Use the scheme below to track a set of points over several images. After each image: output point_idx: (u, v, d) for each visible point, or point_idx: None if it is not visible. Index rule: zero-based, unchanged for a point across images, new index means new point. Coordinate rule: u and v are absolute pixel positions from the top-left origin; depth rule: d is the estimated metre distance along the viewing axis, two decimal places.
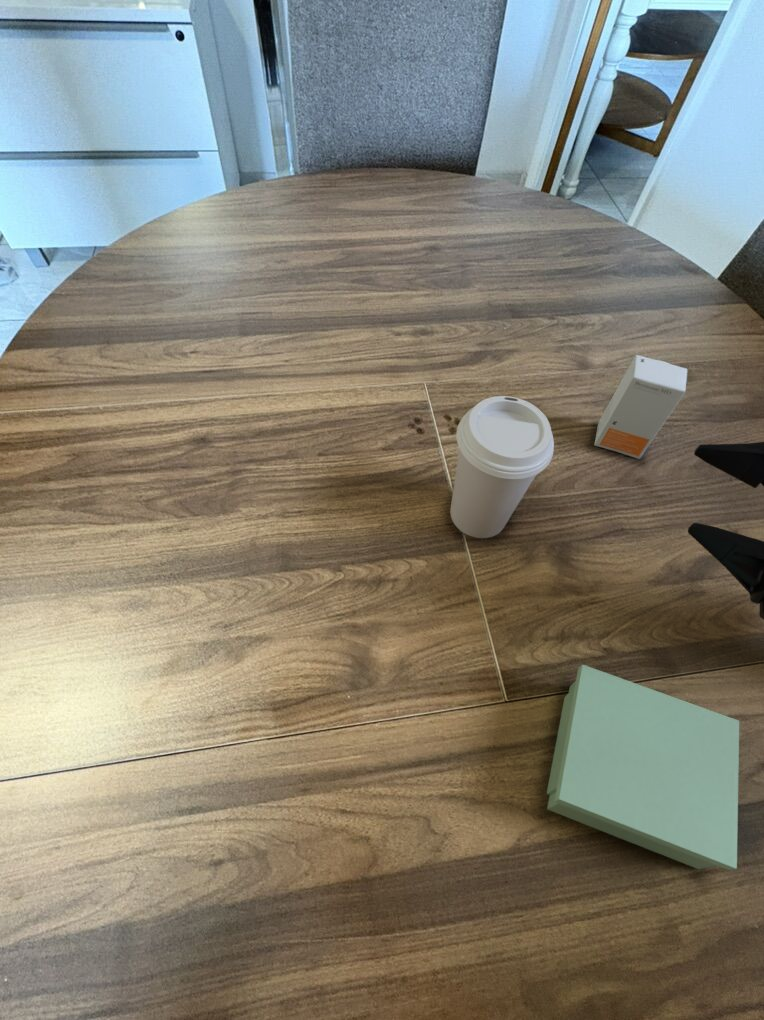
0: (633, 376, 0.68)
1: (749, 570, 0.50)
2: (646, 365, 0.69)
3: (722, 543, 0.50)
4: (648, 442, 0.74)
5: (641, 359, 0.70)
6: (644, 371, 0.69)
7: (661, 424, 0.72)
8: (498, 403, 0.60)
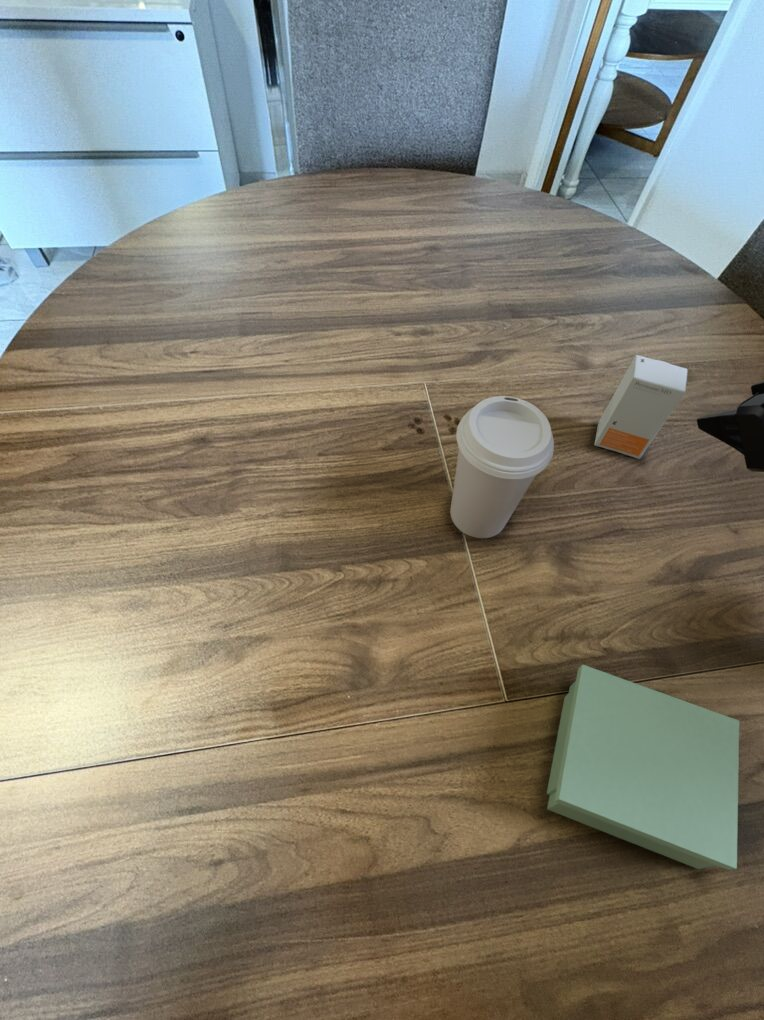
0: (633, 376, 0.68)
1: None
2: (646, 365, 0.69)
3: (715, 422, 0.59)
4: (648, 442, 0.74)
5: (641, 359, 0.70)
6: (644, 371, 0.68)
7: (661, 424, 0.72)
8: (498, 403, 0.60)
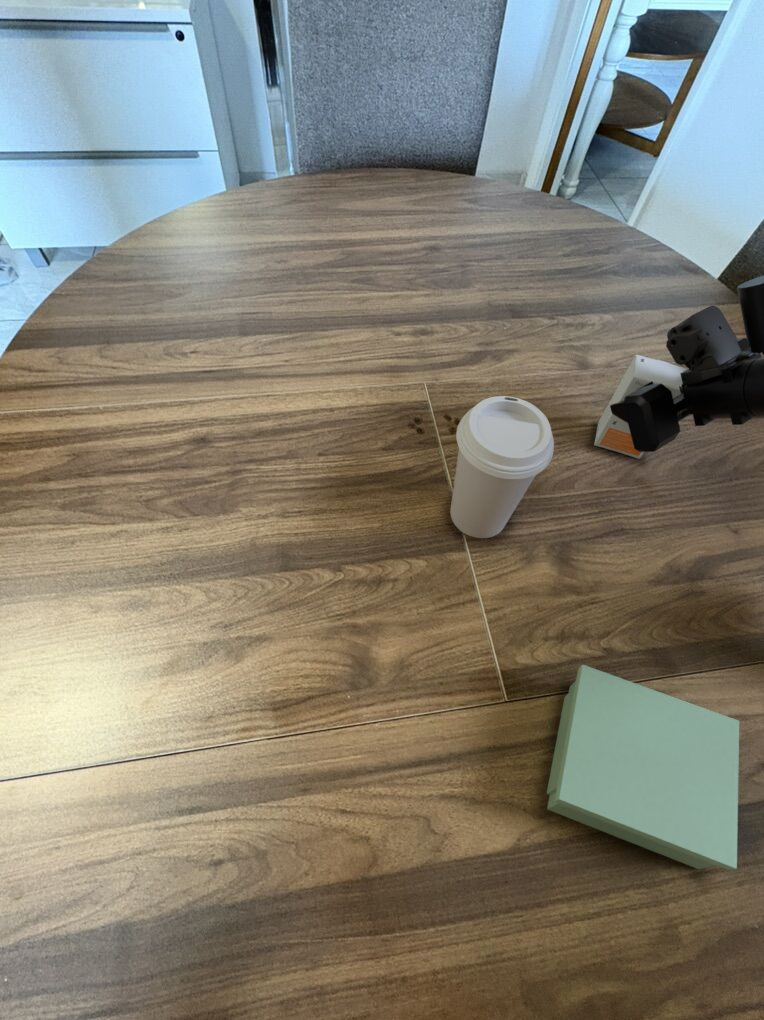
0: (633, 376, 0.68)
1: None
2: (646, 365, 0.69)
3: (622, 407, 0.70)
4: None
5: (641, 358, 0.70)
6: (643, 370, 0.69)
7: None
8: (498, 403, 0.60)
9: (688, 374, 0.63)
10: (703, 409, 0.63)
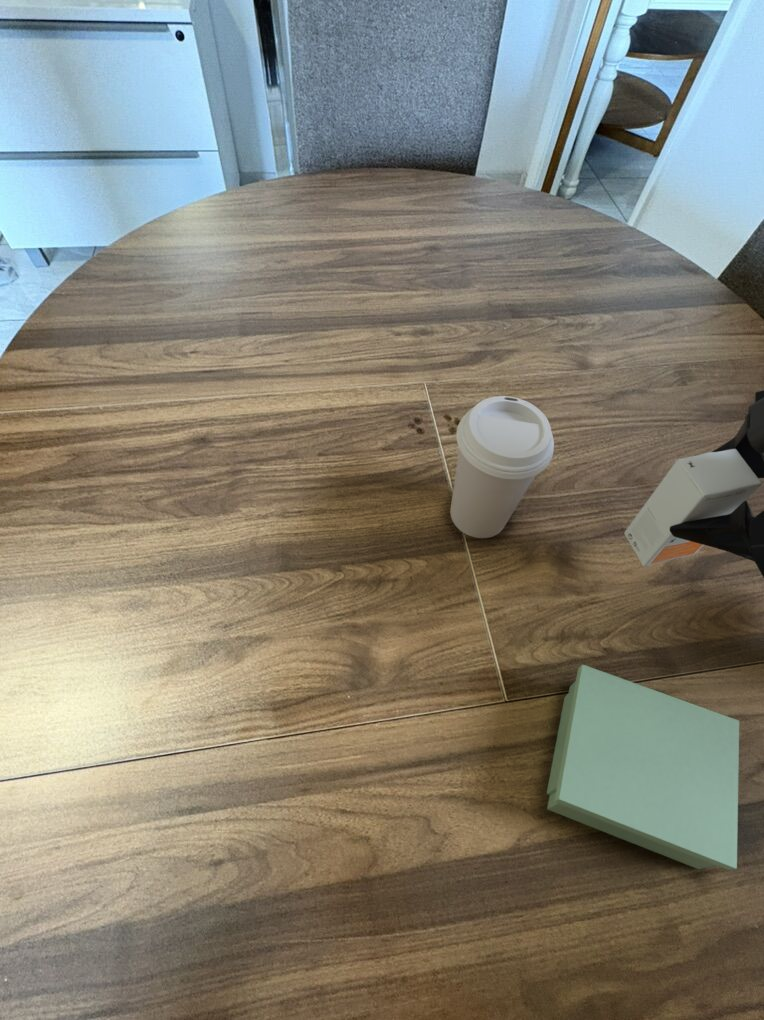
0: (702, 494, 0.50)
1: (742, 544, 0.50)
2: (700, 469, 0.52)
3: (698, 532, 0.52)
4: None
5: (688, 462, 0.52)
6: (705, 479, 0.51)
7: None
8: (498, 403, 0.60)
9: None
10: None
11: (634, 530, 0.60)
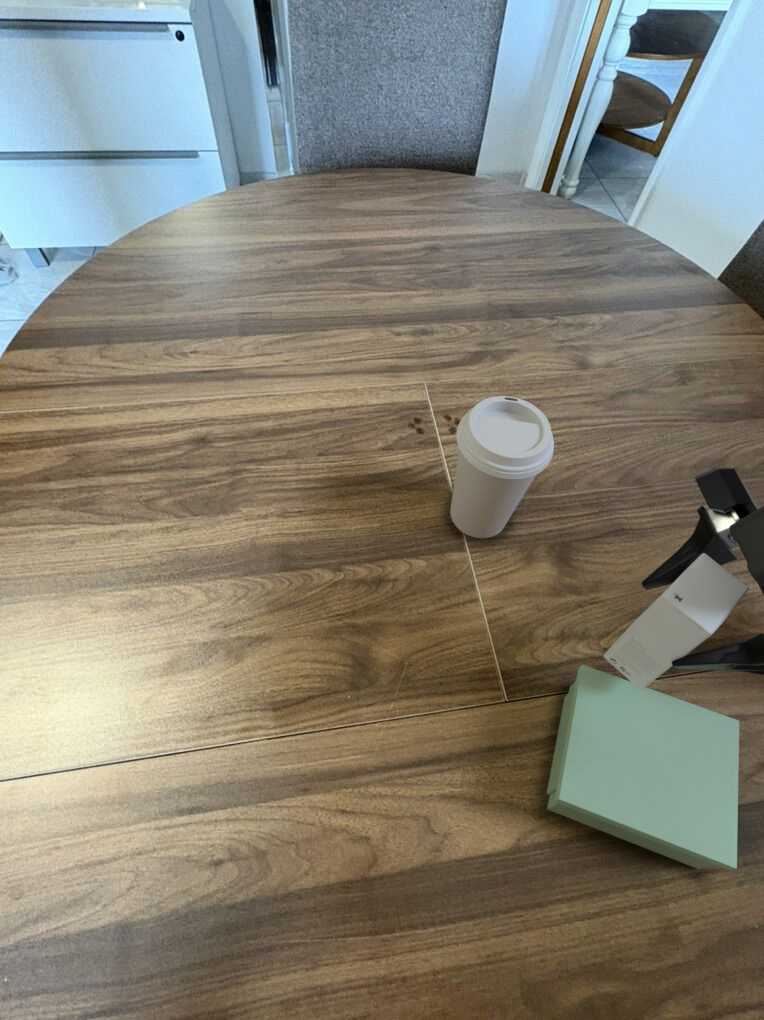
0: (708, 633, 0.43)
1: (760, 665, 0.45)
2: (689, 600, 0.45)
3: (709, 665, 0.45)
4: None
5: (674, 596, 0.45)
6: (701, 612, 0.44)
7: None
8: (498, 403, 0.60)
9: None
10: None
11: (618, 656, 0.52)
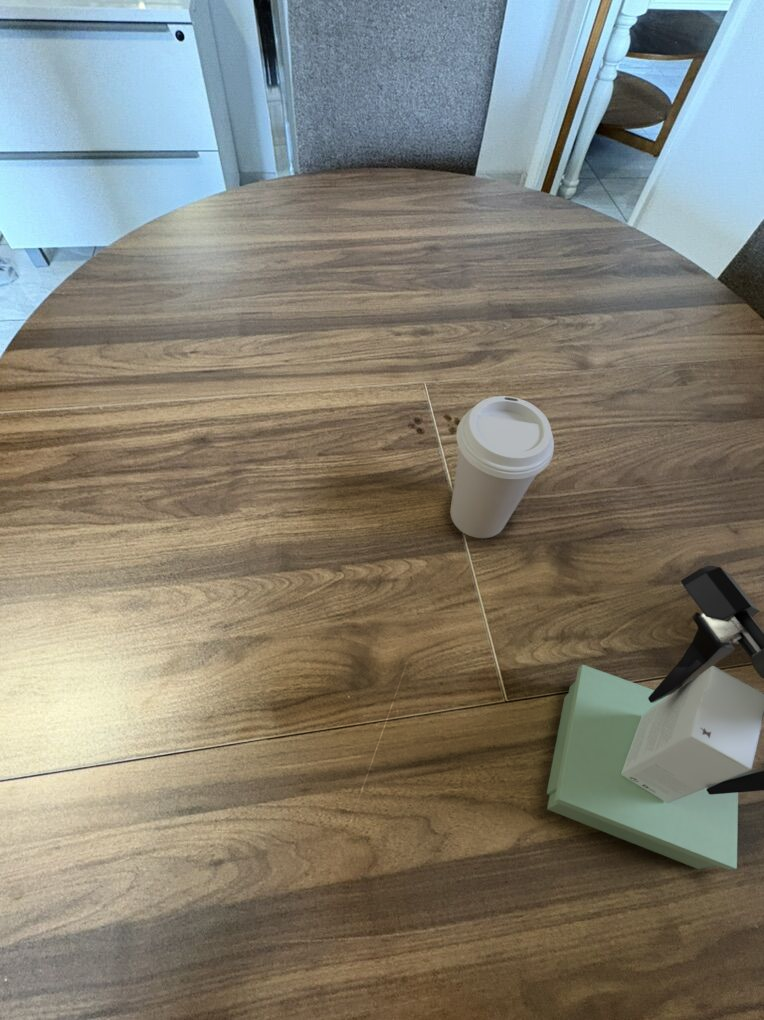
0: (747, 768, 0.40)
1: None
2: (718, 731, 0.41)
3: None
4: None
5: (702, 732, 0.41)
6: (733, 743, 0.40)
7: None
8: (498, 403, 0.60)
9: None
10: None
11: (639, 776, 0.48)
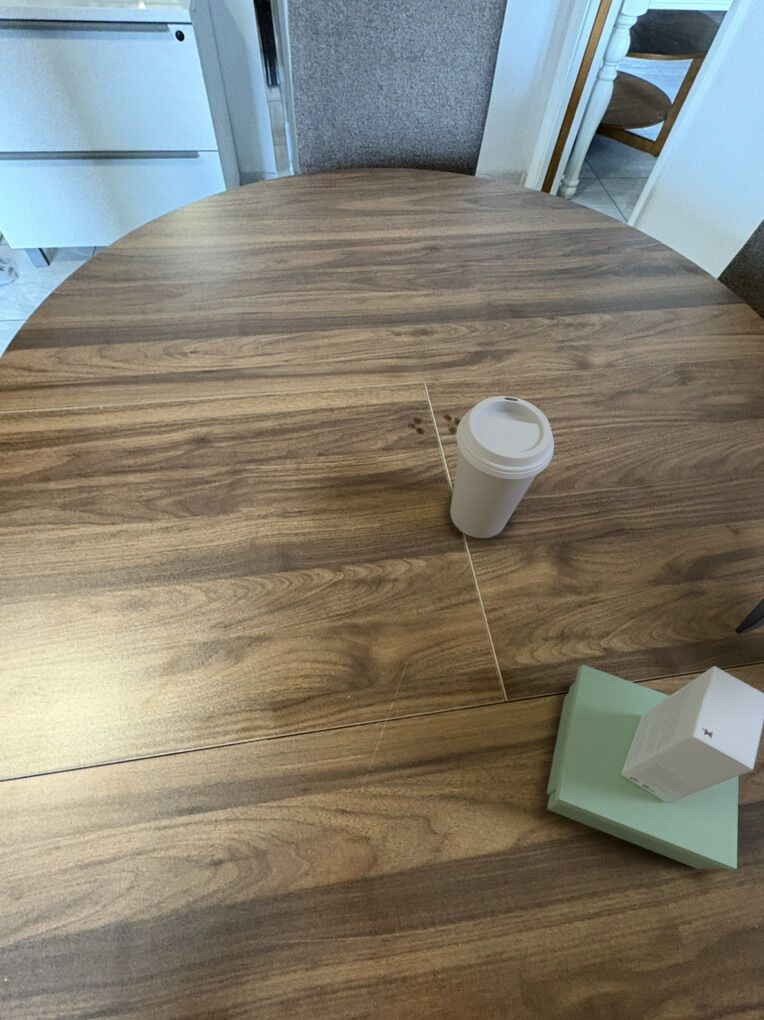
0: (748, 768, 0.40)
1: None
2: (719, 732, 0.41)
3: None
4: None
5: (704, 732, 0.41)
6: (735, 743, 0.40)
7: None
8: (498, 403, 0.60)
9: None
10: None
11: (639, 776, 0.48)
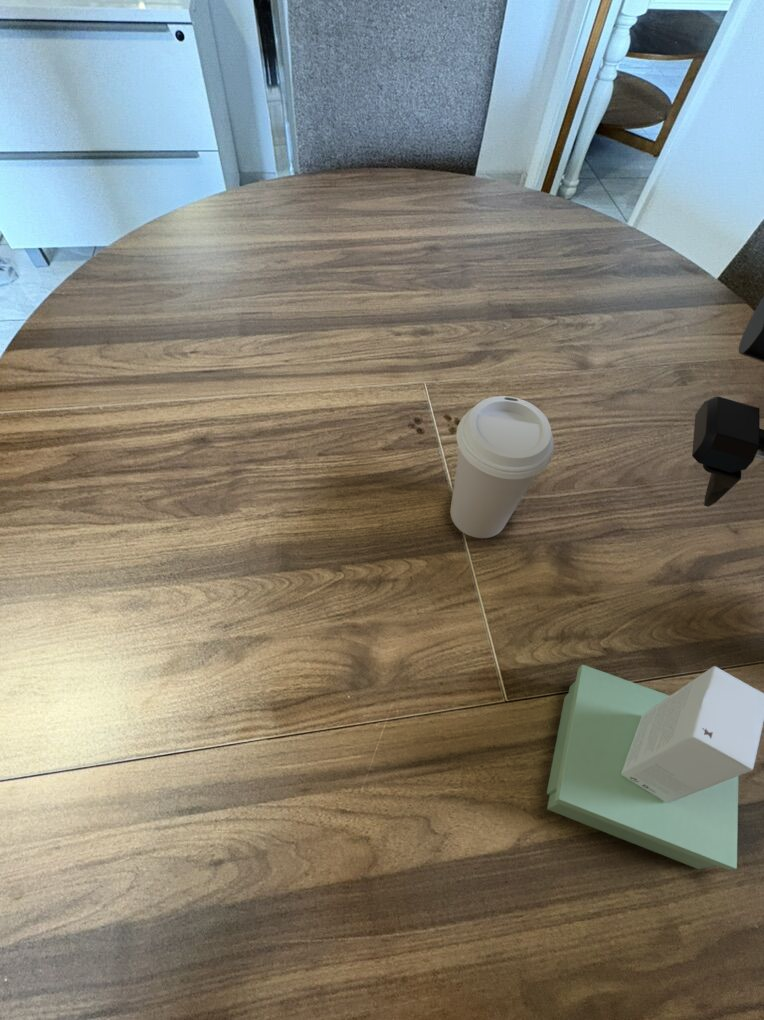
0: (748, 768, 0.40)
1: None
2: (719, 732, 0.41)
3: (710, 480, 0.55)
4: None
5: (704, 732, 0.41)
6: (735, 743, 0.40)
7: None
8: (498, 403, 0.60)
9: None
10: None
11: (639, 776, 0.48)
